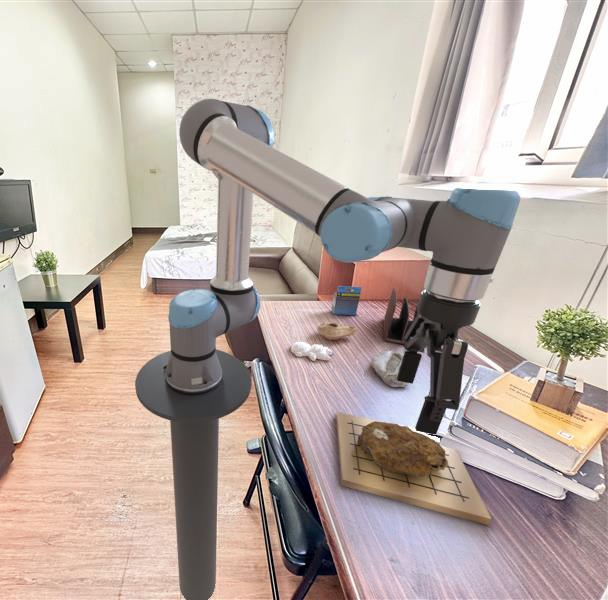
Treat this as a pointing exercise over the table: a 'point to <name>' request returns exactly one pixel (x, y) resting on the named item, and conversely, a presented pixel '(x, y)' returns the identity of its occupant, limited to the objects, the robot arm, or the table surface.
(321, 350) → the astronaut figurine
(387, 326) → the letter holder
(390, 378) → the fossil
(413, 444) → the decorative rock
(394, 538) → the table surface
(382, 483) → the grid board
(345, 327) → the pottery oil lamp
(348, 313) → the label tape box
